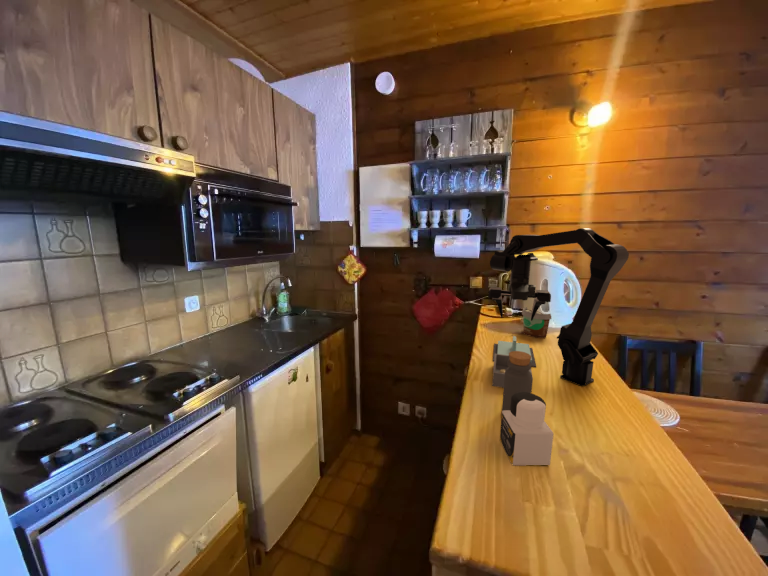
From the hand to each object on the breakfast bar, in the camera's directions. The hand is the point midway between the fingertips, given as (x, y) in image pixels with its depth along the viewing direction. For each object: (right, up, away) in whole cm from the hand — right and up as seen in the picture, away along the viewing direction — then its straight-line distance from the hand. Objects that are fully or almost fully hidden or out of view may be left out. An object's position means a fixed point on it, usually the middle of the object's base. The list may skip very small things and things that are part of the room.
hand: (516, 319), depth 106 cm
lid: (0, -12, +2) cm, 13 cm away
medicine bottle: (-17, -22, -44) cm, 52 cm away
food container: (+15, -9, +23) cm, 29 cm away
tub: (-7, -16, -14) cm, 22 cm away
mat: (0, -13, +3) cm, 13 cm away
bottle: (-14, -20, -31) cm, 40 cm away
